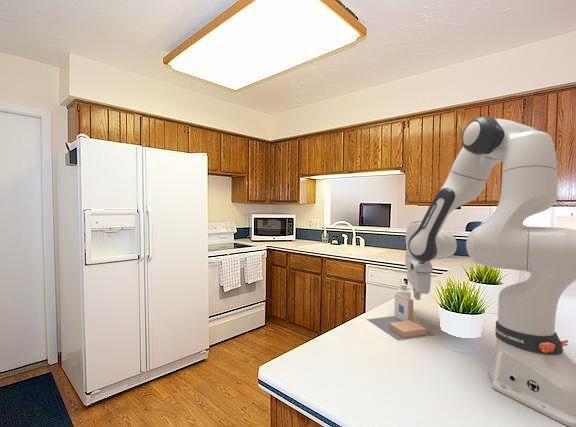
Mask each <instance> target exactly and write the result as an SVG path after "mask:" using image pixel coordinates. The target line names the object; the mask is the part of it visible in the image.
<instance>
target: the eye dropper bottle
mask: <svg viewBox="0 0 576 427" xmlns="http://www.w3.org/2000/svg"><path fill="white" fill-rule="evenodd" d="M396 294H401V295H403V296H405V297H407V298H410V299H412V294H411V291H410V290H408V284H406V281H405V280H403V281H402V283H401V284H400V289H397V291H396Z"/></svg>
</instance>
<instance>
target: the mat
mask: <svg viewBox="0 0 576 427" xmlns="http://www.w3.org/2000/svg"><path fill="white" fill-rule="evenodd" d="M366 321H367V322H369V323H372V325H373V326H375V327H377V328H378V329H380V330H382V331H383V332H384V333H386V334H387V335H388V336H391V337H392V338H394V339H395V340H397V341H399V342H400V341H405V340H411V339H412V340H413V339H419V338H426V337H431V336H436V334H435V333H433V332H431V331H429V330H427V329H426V335H420V336H413V337H407V338H403V337H402V336H400V335H398V334H397V333H395V332H394V331H392V330H390V329H389V323H392V322H400V321H401V320H399V319H397V318H395V315H392V316H384V317H375V318H366Z"/></svg>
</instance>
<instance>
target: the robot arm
mask: <svg viewBox="0 0 576 427" xmlns="http://www.w3.org/2000/svg"><path fill="white" fill-rule="evenodd" d="M461 143H462V148H461V149H460V151H459V153H458V154H457V156H456V158H455V160H454V162H453V164H452V166H451V169H450V171H449V174H448V176H447V177H446V179H445V181H444V184H443V185H442V187H441V188H440V189H439V191H438V192H437V193H436V194H435V196H434V197H433V199H432V200H431V203H430V204H429V207H428V209H427V211H426V213H425V215H424V217H423V218H422V220H420V221H412V222H410V223H408V224H407V227H406V232H405V247H406V251H405V253H404V254H405V257H404V258H405V261H404V263H405V265H404V267H405V268H407V269H406V270H407V271H406V280H407V282H409V284H410V285H411V286H412V291H413V298H414V299H415V300H417V301H419V300H421V296H422V294H425V295H429V294H430V291H431V282H432V274H431V273H433V271H434V270H433V268H434V267H433V265H432V263H431V261H433V260H439V259H440V260H441V259H445V258H449V257H452V256H453V255H455V254H456V251H457V249H458V242H457V239H456V237H455V236H454V235H453V234H452V233H450V232H449V231H445V230H441V229H442V228H443V226H444V223H445V222H446V220H447V218H448V217H449V215H450V214H451V213H452V212H453V211H454V210H457V209H458V208H459V207H462V206H463V205H465V204H467V203H471V202H472V201H474V200H475V199H478V197H479V195H480V194H481V193H482V191H483V190H484V188H485V186H486V184H487V182H488V179H489V176H490V175H491V171H492V169H493V168H494V167H495V165H497V164H499V163H502V168H501V170H502V171H501V172H502V173H501V186H500V195H499V201H498V204H497V207H496V209H495V210H494V212H493V213H492V215H490V217H488V219H487V220H486V221H485V222H483V223H481V224H480V225H479V226H476V227H475V228H473V229H472V231H470V233H469V234H468V236H467V237H466V242H465V247H466V248H465V249H466V252H467V254H468V256H469V257H470V260H472V261H473V262H474V263H475V264H479V265H482V266H487V267H491V268H495V269H505V270H514V271H522V272H528V273H530V276H529V278H528V279H526V280H525V281H521V282H516V283H513V284H510V285H508V286H505V287H504V288H502V289H501V291H499V293H498V300H497V301H498V304H497V305H498V307H497V309H498V310H497V320H496V321H495V332H494V333H495V337H496V344H495V350H494V356H493V360H492V364H491V366H490V369H489V371H488V376H489V378H490V380H491V381H492V383H491V385H492V386H491V387H492V389H494V390H495V391H497V392H499V393H501V394H503V395H506V396H507V397H510V398H512V399H513V400H515V401H517V402H519V403H521V404H523V405H525V406H527V407H530V408H531V409H533V410H535V411H536V412H537V411H538V412H540V413H542V414H543V415H545V416H547V417H549V418H552V419H553V420H555V421H558V422H559V423H561V424H563V425H565V426H567V427H576V363H575V361H573V360H572V359H571V358H570V357H569V355H567V354H566V353H565V352H564V348H563V347H567V346H569V340H561V339H560V338H559V336H558V334H557V332H556V316H557V310H558V305H559V301H560V299H561V296H562V294H563V293H564V292H565V291H566V289H567V288H568V287H569V286H570V285H571V284H573V283H574V282H575V281H576V229H573V228H567V227H552V226H551V227H550V226H549V227H547V226H543V227H542V226H528V225H524V222H525V220H526V219H527V218H529V217H531V216H534V215H537V214H540V213H543V212H546V211H547V210H549V209H550V208H551V207H553V206H554V205H555V204H556V202H557V200H558V162H557V153H556V147H555V144H554V141H553V138H552V136H551V135H550V134H549V133H547V132H545V131H542V130H540V129H539V128H538V127H535V126H529V125H526V124H522V123H519V122H516V121H514V120H510V119H505V118H494V117H492V116H478V117H475V118H474V119H472V120H470V122H469V123H468V124H467V125H466V127H465V128H464V130H463V132H462V135H461Z"/></svg>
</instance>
